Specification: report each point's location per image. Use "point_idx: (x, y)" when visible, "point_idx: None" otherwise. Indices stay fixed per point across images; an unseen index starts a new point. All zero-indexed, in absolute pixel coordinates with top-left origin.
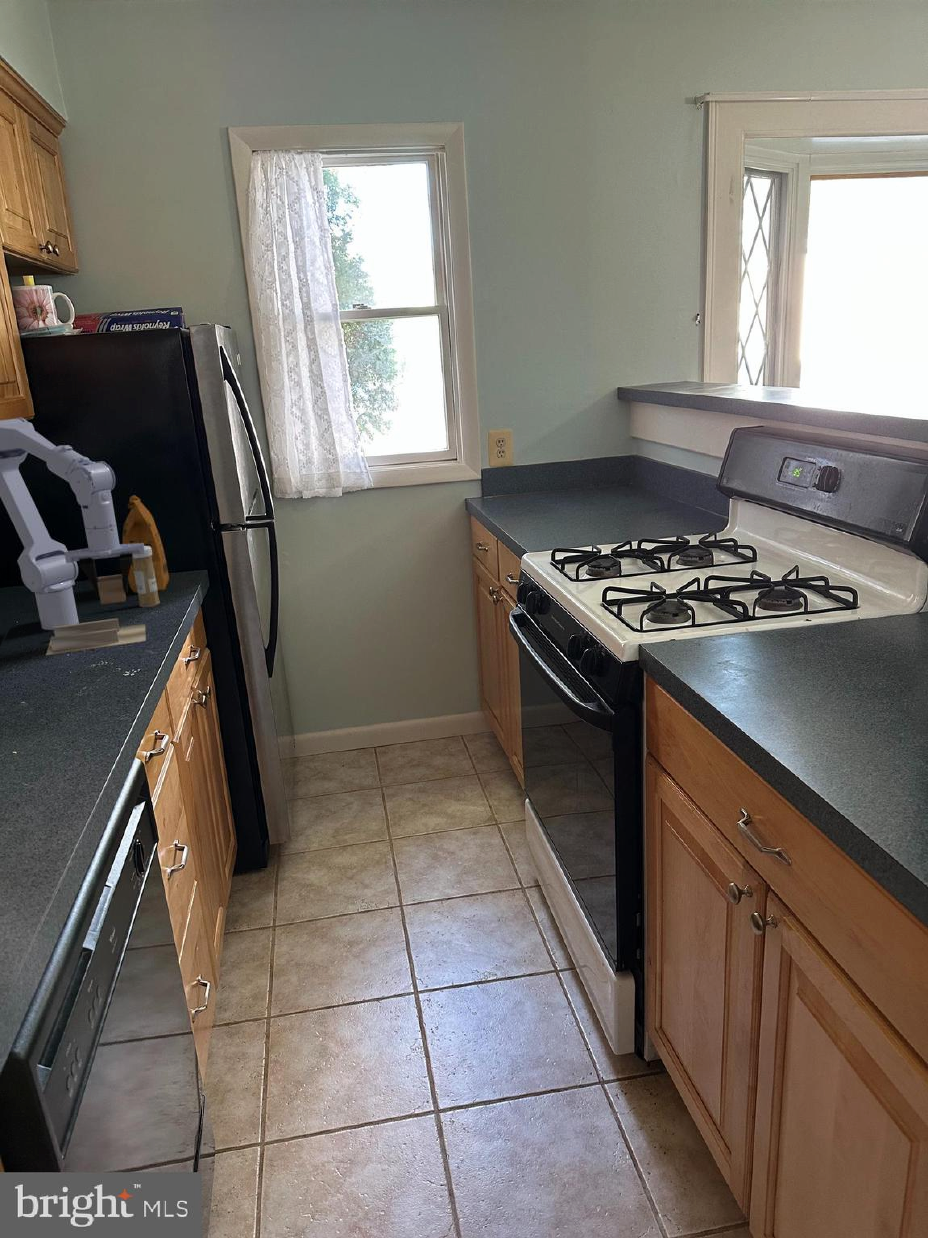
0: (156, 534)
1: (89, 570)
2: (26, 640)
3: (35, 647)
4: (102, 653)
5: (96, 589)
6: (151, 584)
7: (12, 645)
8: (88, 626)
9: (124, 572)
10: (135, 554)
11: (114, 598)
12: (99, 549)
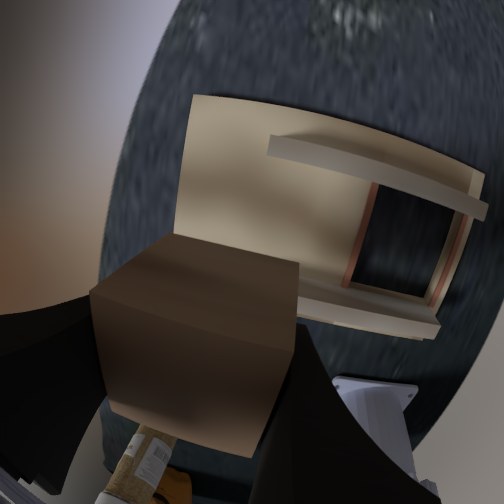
0: None
1: (349, 477)
2: (444, 375)
3: (459, 313)
4: (338, 106)
5: (303, 344)
6: (134, 445)
7: (474, 356)
8: (344, 300)
9: (38, 323)
10: None
11: (214, 252)
12: None
